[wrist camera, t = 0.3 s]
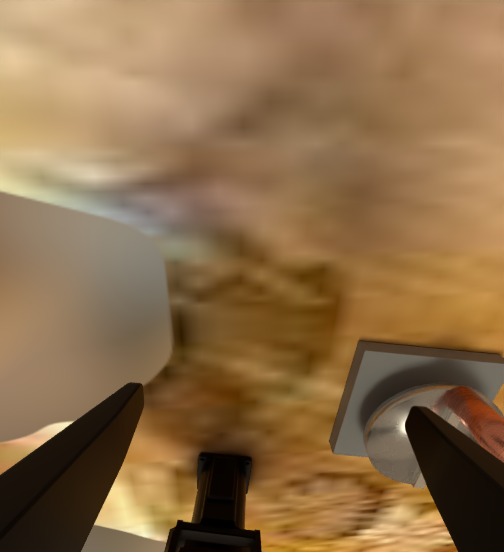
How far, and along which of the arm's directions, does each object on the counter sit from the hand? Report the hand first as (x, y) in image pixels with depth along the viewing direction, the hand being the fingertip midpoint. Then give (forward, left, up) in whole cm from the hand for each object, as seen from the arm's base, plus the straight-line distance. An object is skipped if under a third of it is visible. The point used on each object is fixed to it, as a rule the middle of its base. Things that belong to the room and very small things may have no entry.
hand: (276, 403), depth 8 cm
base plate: (-14, -17, -14) cm, 26 cm away
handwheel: (-13, -17, -13) cm, 25 cm away
